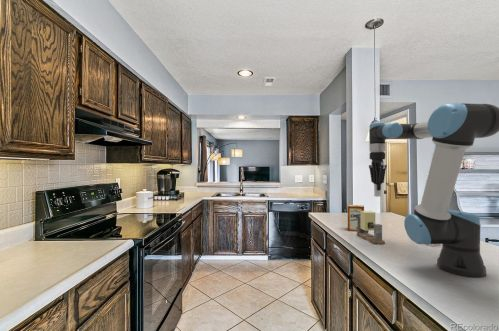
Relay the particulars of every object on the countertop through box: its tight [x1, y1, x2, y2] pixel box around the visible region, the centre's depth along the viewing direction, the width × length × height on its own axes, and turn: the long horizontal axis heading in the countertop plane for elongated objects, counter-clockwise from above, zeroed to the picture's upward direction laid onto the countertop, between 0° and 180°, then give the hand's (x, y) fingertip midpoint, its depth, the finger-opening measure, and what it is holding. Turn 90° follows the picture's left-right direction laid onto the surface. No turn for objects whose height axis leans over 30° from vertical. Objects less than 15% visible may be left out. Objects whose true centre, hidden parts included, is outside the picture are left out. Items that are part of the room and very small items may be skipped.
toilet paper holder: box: [356, 216, 386, 245], centre depth 145 cm, size 18×6×12 cm, turn 5°
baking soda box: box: [347, 204, 365, 233], centre depth 165 cm, size 10×6×16 cm
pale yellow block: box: [360, 210, 376, 232], centre depth 147 cm, size 5×6×10 cm
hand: (377, 196), depth 137 cm, fingers closed
